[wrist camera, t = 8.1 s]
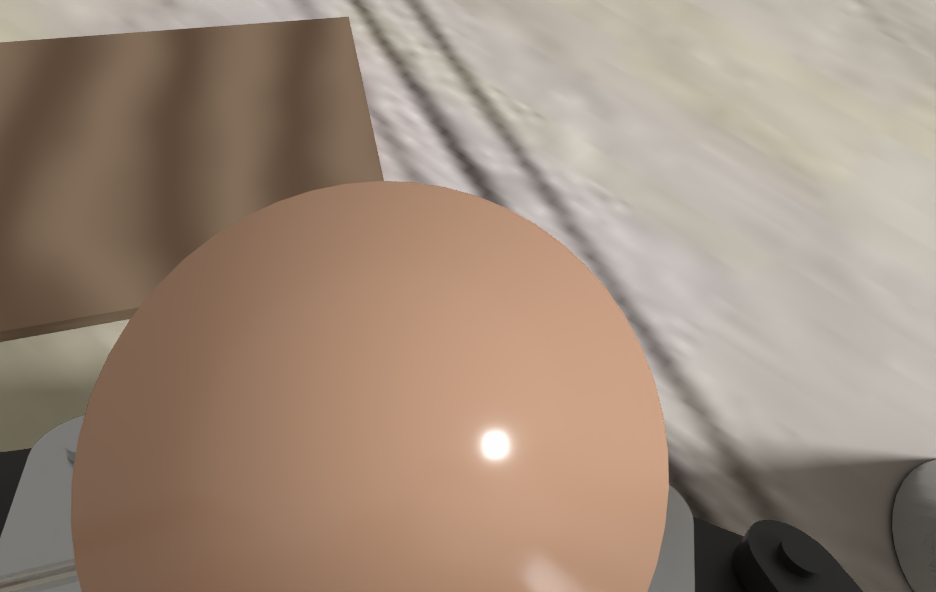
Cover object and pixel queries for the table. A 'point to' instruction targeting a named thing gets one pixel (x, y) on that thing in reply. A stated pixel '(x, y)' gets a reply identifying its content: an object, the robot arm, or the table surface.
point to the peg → (373, 412)
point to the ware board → (160, 154)
